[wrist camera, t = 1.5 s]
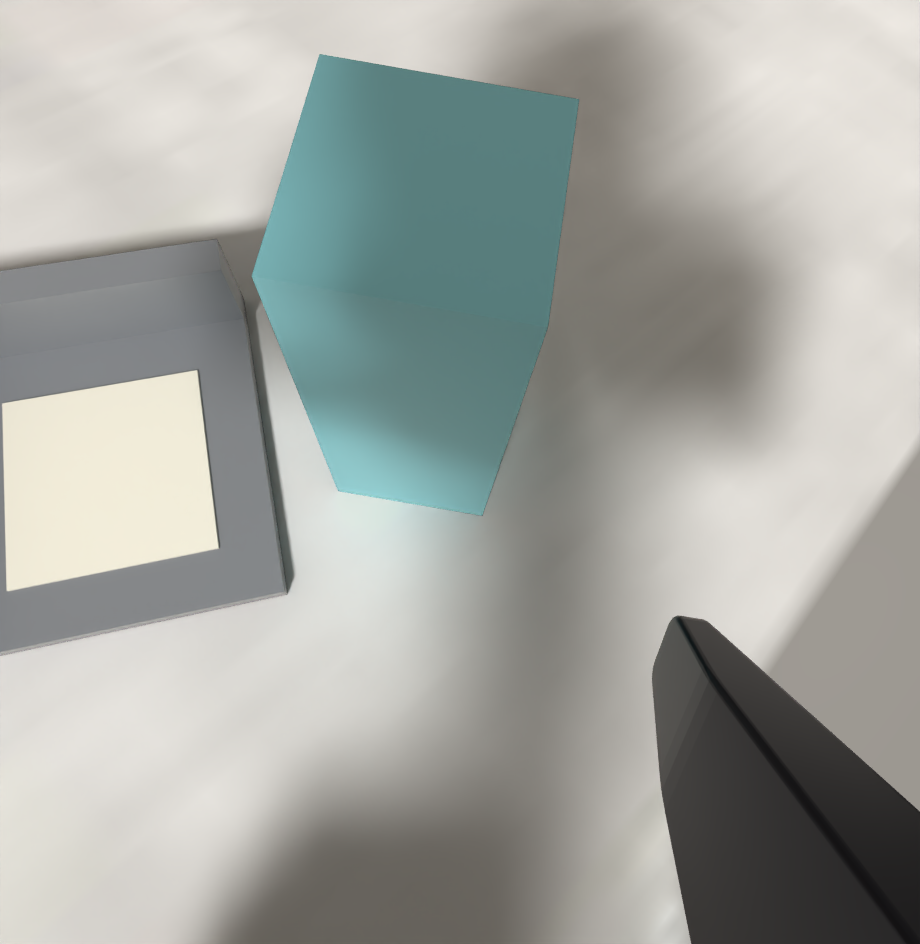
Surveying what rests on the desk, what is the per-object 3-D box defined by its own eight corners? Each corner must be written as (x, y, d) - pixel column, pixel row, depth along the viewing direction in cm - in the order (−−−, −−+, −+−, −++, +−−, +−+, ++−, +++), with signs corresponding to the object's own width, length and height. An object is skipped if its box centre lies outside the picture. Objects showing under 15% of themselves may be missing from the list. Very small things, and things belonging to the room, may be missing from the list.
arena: (287, 594, 22) (263, 576, 19) (-83, 673, 20) (-181, 669, 17) (243, 299, 25) (217, 238, 22) (-78, 350, 24) (-159, 294, 20)
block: (482, 515, 23) (547, 327, 11) (338, 490, 23) (251, 275, 11) (502, 385, 25) (579, 99, 13) (367, 362, 25) (319, 54, 13)
